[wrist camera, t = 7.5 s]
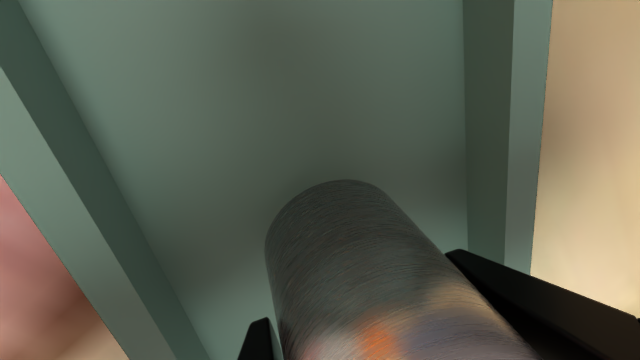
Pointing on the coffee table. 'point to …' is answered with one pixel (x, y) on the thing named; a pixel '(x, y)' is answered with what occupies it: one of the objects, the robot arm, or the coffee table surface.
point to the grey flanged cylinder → (374, 285)
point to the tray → (259, 140)
